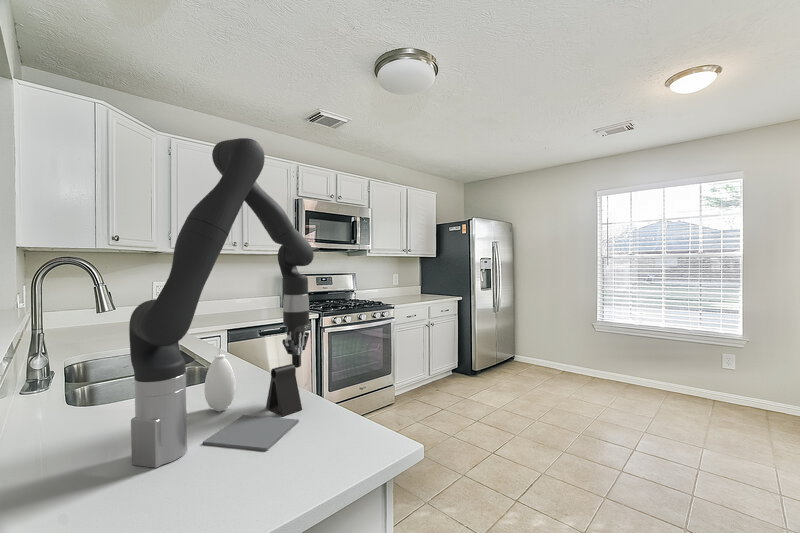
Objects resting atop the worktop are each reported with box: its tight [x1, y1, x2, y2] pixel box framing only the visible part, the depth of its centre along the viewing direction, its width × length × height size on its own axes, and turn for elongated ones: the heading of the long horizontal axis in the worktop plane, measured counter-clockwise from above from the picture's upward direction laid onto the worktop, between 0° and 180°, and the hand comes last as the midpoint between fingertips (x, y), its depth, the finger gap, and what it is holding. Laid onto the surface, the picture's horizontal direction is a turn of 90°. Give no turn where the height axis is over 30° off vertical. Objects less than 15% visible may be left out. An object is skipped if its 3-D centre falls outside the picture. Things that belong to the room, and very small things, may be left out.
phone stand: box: [265, 363, 303, 418], centre depth 105 cm, size 9×6×12 cm, turn 47°
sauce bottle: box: [203, 345, 237, 413], centre depth 105 cm, size 8×8×18 cm
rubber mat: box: [202, 414, 300, 452], centre depth 91 cm, size 15×16×1 cm
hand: (296, 366), depth 113 cm, fingers closed
